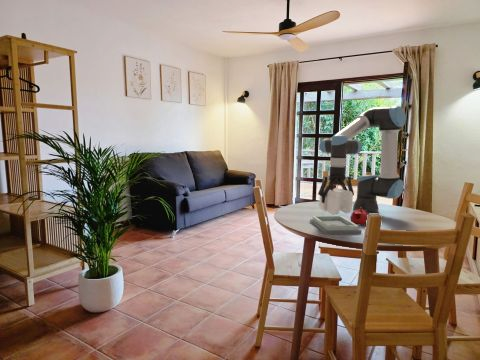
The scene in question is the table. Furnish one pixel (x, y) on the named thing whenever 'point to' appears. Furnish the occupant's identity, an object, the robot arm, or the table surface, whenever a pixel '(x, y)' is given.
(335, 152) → the robot arm
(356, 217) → the red tomato
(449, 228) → the table surface
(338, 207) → the cable organizer
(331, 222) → the grey green tray
